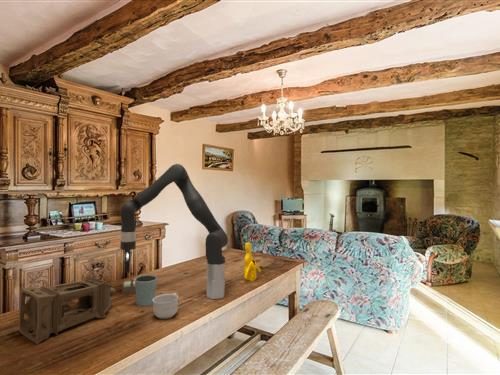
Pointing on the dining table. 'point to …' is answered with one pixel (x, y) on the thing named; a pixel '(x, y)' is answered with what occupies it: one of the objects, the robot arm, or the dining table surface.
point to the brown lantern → (62, 306)
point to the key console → (128, 289)
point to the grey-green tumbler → (145, 289)
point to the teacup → (165, 305)
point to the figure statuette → (250, 264)
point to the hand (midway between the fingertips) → (127, 272)
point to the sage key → (127, 284)
